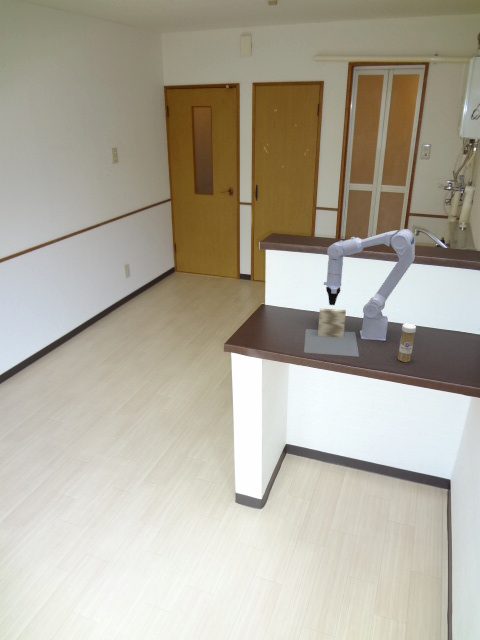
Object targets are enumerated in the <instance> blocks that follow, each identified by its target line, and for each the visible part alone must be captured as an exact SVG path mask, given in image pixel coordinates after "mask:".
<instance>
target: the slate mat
mask: <svg viewBox="0 0 480 640" xmlns="http://www.w3.org/2000/svg"><path fill="white" fill-rule="evenodd" d="M303 348H304V349H303V353H306V354H316V355H317V354H319V355H321V354H322V355H333V356H334V355H335V356H345V357H346V356H347V357H357V358H358V357H360V354H359V349H358V348H359V347H358V342H357V336H356V332H355V331H344V335H343V337H329V336H318V329H312V328H311V329H310V328H306V329H305V335H304V347H303Z"/></svg>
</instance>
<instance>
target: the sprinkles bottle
mask: <svg viewBox="0 0 480 640" xmlns="http://www.w3.org/2000/svg"><path fill="white" fill-rule="evenodd" d="M416 330H417V326H416V325H415V324H413V323H403V324H402V327H401V336H400V341H399V348H398V356H397V360H398V361H400V362H403V363H410V362H411V358H412V352H413V347H414V340H415V339H414V338H415V335H416V334H415V333H416Z"/></svg>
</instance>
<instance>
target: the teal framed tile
mask: <svg viewBox="0 0 480 640" xmlns="http://www.w3.org/2000/svg"><path fill="white" fill-rule="evenodd" d="M318 313H319V315H318V327H317V328H318V329H317V330H318V336H329V337H343V335H344V332H345V326H346V325H345V323H346V313H347V311H346V309H336V308H319V312H318Z"/></svg>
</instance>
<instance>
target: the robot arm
mask: <svg viewBox="0 0 480 640" xmlns="http://www.w3.org/2000/svg"><path fill="white" fill-rule="evenodd" d="M379 245H386V246H387V247H392V248H393V250H394V251H395V252H396V255H397V257H398V261H397V262H396V263H395V265H394V267H393V268H392V270H391V271H390V273H389V274H388V276H386V278H385V280H384V282H383V283H382V285H380V287H379V289H378V290H377V292H376V293H375V295H374V296H373V297H371V298H370V299H369V300H368V301H367V303H366V304H365V305H364V306H363V309H362V312H363V319H362V325H361V329H360V330H359V333H360V334H359V335H360V339H362V340H374V341H382V342H383V341H387V333H388V325H389V324H388V323H389V320H388V319H389V318H388V316H386V315H383V312H382V311H383V310H384V309H385V305H386V301H387V300H388V298H389V297H390V295H391V294H392V292H393V291H394V289H395V288H396V287H397V285H398V284H399V282H400V281H401V280H402V278H403V277H404V275H405V274H406V273H407V271H408V270H409V268H410V267H411V265H412V264H413V262H414V261H415V257H416V255H415V254H416V253H415V252H416V249H415V248H416V239H415V236H414V233H413V231H411V230H410V229H407V228H403V229H400V230H399V229H398V230H391V231H387V232H384V233H380V234H376V235H373V236H370V237H367V238H361V237H355V236H352V237H351V236H350V239H346V240H342V239H341V240H339V241H337V242H334V243H332V244H331V245H329V246H328V247H327V249H326V253H327V256H328V262H327V274H326V281H324V282H323V285H324V286H326V287H325V288H326V294H327V296H328V304H329V305H328V306H335V304H336V302H337V299H338V296H339V295H340V293H341V287H342V276H343V275H342V274H343V265H344V256H350V255H354V254H358V253H361V252H362V251H363V250H364V249H365V248H369V247H374V246H379Z"/></svg>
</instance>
